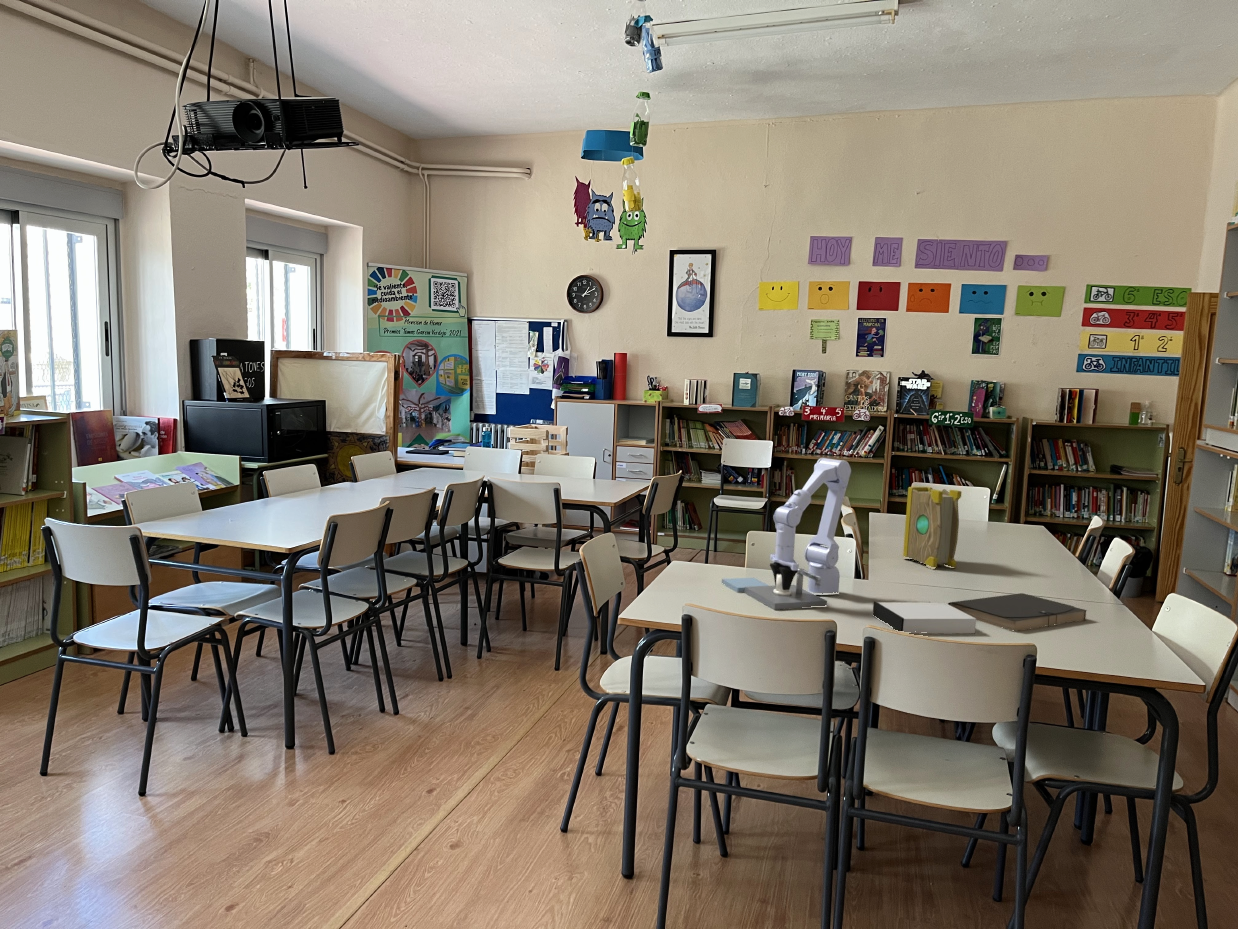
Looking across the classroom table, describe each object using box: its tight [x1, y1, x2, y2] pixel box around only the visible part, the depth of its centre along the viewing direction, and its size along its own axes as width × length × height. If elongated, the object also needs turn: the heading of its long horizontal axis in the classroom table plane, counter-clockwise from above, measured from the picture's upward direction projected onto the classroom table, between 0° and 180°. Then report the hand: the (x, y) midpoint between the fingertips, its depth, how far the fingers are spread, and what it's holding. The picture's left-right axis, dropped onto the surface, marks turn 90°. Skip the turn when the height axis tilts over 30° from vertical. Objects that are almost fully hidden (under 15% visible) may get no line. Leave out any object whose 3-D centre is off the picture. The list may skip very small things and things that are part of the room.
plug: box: [773, 574, 791, 596], centre depth 263 cm, size 5×5×8 cm
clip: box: [796, 568, 821, 586], centre depth 260 cm, size 12×2×3 cm, turn 19°
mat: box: [721, 577, 770, 593], centre depth 278 cm, size 12×12×2 cm
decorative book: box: [902, 486, 962, 568], centre depth 325 cm, size 20×11×30 cm, turn 18°
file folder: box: [947, 592, 1088, 632], centre depth 257 cm, size 33×4×24 cm
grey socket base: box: [743, 573, 828, 611], centre depth 263 cm, size 18×20×8 cm
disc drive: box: [872, 601, 977, 635], centre depth 242 cm, size 18×22×5 cm
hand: (782, 587), depth 263 cm, fingers closed on plug, 4 cm apart
